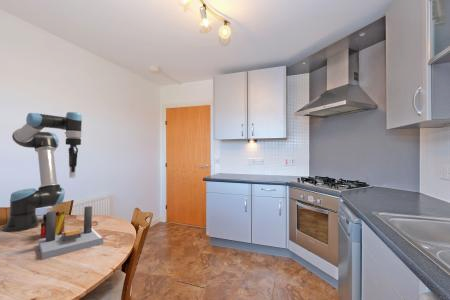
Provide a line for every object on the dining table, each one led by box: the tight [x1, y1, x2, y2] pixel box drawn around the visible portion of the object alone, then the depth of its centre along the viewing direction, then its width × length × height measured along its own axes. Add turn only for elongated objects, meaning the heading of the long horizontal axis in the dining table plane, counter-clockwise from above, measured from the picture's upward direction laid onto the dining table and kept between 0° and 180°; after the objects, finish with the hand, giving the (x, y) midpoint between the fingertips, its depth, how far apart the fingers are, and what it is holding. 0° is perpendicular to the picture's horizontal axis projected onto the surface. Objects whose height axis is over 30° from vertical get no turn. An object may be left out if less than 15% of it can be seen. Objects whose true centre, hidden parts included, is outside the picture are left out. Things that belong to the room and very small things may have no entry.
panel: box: [38, 227, 104, 260], centre depth 108 cm, size 20×24×7 cm
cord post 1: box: [46, 210, 57, 242], centre depth 106 cm, size 4×4×14 cm
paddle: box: [64, 229, 81, 236], centre depth 108 cm, size 12×6×2 cm, turn 46°
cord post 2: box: [83, 205, 93, 233], centre depth 117 cm, size 4×4×14 cm
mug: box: [39, 211, 66, 239], centre depth 118 cm, size 10×14×12 cm
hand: (72, 177), depth 126 cm, fingers closed
